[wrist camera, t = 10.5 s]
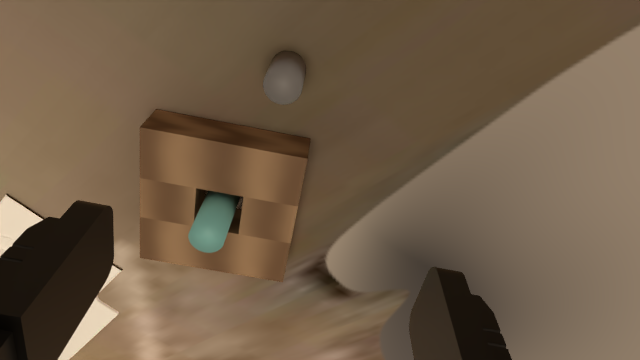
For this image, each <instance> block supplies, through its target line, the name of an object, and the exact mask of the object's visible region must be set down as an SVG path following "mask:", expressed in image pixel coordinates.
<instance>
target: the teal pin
mask: <svg viewBox="0 0 640 360" xmlns="http://www.w3.org/2000/svg"><path fill="white" fill-rule="evenodd" d="M239 199H240V196H236V195H231V194H225V193H220V192H214V191H209V190H208V193H207V195H206V197H205V199H204V201H203V203H202V205H201V208H200V210H199V212H198V214H197V216H196V218H195V220H194V223H193V225H192V227H191V229H190V231H189V234H188V238H189V241H190V243H191V245H192V246H193V247H194V248H196V249H197V250H199V251H202V252H206V253H212V252H216V251H218V250H220V249H221V248H222V247H223V245H224V242H225V239H226V236H227V233H228V230H229V228H230V225H231V222H232V219H233V216H234V213H235V210H236V207H237V204H238V202H239Z"/></svg>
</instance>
